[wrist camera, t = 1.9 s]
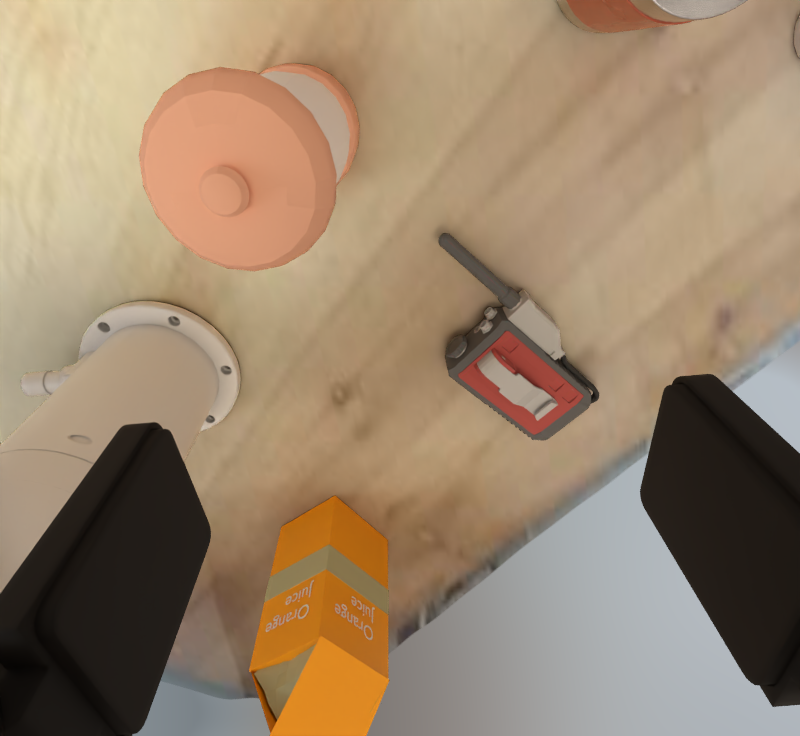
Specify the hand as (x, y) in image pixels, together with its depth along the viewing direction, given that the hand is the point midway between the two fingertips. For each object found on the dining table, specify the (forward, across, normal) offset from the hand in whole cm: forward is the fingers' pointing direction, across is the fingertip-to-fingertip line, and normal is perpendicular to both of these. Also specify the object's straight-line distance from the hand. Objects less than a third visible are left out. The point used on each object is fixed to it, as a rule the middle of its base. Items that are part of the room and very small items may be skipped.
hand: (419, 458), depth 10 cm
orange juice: (+29, +9, +36) cm, 47 cm away
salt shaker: (+29, +5, -4) cm, 30 cm away
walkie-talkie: (+29, -8, +13) cm, 33 cm away
